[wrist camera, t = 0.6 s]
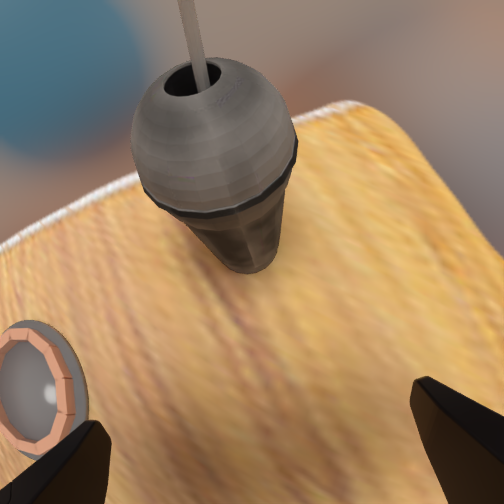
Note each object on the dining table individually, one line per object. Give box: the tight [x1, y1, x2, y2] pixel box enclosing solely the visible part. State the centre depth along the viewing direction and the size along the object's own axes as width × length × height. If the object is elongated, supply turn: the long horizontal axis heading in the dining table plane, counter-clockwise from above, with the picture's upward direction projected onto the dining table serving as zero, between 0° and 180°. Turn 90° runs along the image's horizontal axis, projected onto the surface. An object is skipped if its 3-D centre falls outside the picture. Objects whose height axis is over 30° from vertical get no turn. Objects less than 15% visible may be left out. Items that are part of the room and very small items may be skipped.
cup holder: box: [0, 320, 89, 461], centre depth 20 cm, size 13×13×2 cm
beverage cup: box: [130, 0, 298, 274], centre depth 15 cm, size 7×7×20 cm
